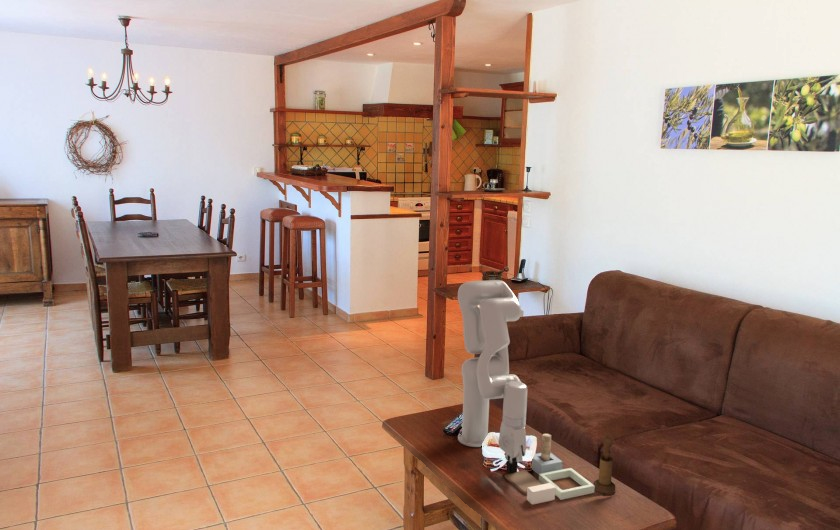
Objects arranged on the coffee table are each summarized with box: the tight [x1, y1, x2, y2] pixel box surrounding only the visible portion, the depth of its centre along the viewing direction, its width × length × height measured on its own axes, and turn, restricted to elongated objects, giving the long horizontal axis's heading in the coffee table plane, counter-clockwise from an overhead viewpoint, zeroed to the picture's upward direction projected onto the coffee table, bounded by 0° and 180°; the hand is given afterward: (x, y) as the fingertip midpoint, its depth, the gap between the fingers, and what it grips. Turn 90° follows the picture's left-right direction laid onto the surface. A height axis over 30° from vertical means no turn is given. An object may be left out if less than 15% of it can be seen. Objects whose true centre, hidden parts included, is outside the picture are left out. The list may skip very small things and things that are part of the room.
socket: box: [531, 451, 564, 476], centre depth 213 cm, size 8×8×5 cm
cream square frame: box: [538, 467, 595, 501], centre depth 202 cm, size 12×12×3 cm
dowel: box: [540, 433, 552, 462], centre depth 213 cm, size 3×3×12 cm
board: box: [504, 469, 542, 496], centre depth 204 cm, size 12×8×2 cm, turn 24°
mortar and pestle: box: [593, 436, 616, 497], centre depth 201 cm, size 7×6×18 cm
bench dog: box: [526, 483, 556, 505], centre depth 194 cm, size 3×8×5 cm, turn 112°
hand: (511, 472), depth 210 cm, fingers closed
